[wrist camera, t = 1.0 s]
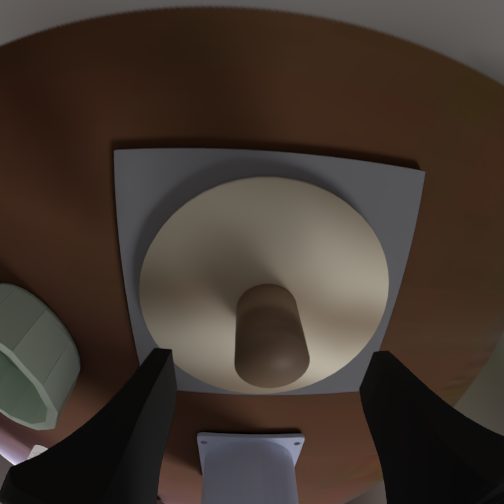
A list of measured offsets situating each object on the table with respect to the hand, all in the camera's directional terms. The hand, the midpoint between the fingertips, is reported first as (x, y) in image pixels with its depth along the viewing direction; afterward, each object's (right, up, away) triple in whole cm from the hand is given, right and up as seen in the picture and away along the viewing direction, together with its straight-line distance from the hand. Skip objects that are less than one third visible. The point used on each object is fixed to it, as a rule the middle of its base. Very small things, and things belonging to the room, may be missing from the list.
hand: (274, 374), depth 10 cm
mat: (0, +2, +5) cm, 5 cm away
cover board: (0, +2, +5) cm, 5 cm away
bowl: (-16, -2, +6) cm, 18 cm away
